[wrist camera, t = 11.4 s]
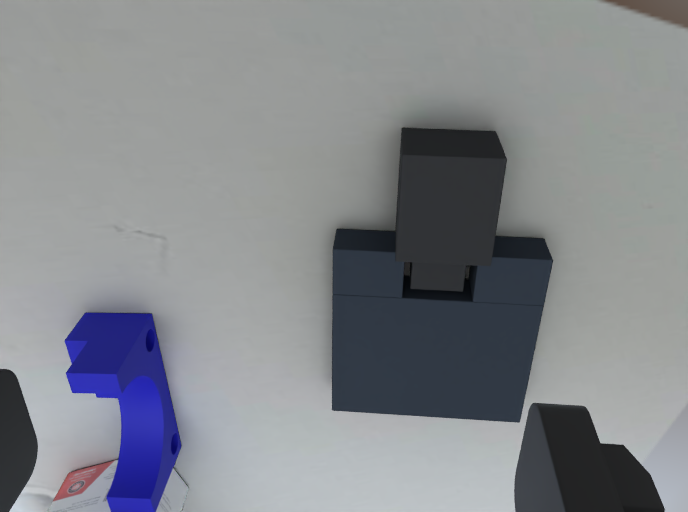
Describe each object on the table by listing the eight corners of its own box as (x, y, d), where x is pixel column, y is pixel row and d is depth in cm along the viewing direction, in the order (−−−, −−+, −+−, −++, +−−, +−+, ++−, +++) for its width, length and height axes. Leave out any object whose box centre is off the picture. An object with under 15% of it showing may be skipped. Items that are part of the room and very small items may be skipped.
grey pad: (336, 228, 37) (332, 249, 35) (544, 238, 37) (553, 260, 35) (335, 384, 43) (331, 410, 41) (513, 395, 43) (520, 423, 41)
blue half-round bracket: (85, 312, 42) (40, 372, 37) (151, 313, 42) (116, 374, 36) (123, 444, 48) (89, 511, 43) (181, 446, 48) (154, 514, 42)
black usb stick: (401, 127, 34) (401, 154, 31) (496, 131, 34) (507, 158, 30) (393, 268, 38) (392, 305, 35) (476, 272, 38) (484, 311, 35)
